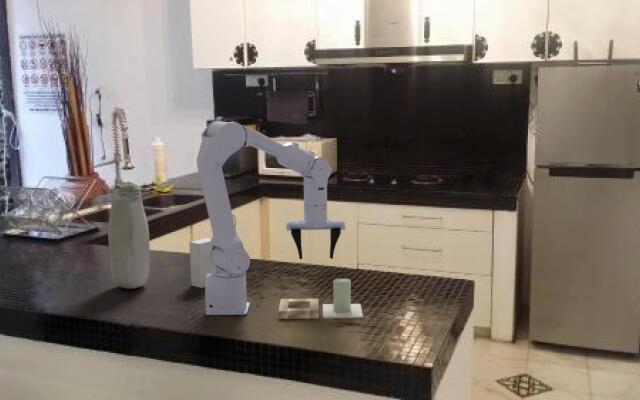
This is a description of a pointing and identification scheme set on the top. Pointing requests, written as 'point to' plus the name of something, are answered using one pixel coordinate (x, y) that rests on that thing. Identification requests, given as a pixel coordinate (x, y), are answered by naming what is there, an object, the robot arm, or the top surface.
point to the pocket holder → (299, 308)
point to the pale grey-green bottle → (128, 237)
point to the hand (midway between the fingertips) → (316, 258)
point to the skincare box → (200, 261)
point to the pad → (330, 313)
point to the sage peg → (342, 295)
